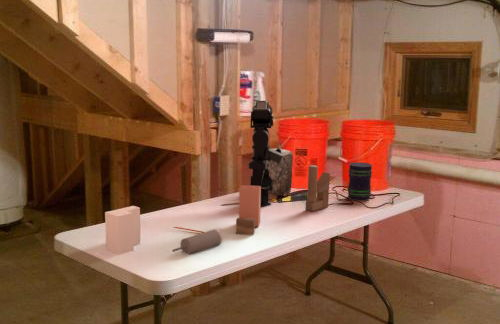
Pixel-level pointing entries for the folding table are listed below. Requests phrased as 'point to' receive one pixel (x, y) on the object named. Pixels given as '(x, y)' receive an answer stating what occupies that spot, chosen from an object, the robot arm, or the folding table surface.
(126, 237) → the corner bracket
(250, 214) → the block
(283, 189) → the stone block
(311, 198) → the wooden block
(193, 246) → the motor
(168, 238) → the folding table surface
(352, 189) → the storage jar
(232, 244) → the folding table surface
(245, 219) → the rail
